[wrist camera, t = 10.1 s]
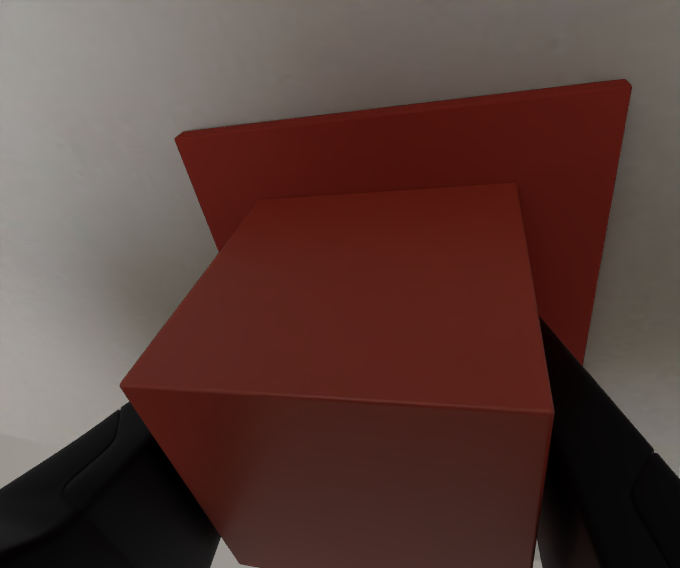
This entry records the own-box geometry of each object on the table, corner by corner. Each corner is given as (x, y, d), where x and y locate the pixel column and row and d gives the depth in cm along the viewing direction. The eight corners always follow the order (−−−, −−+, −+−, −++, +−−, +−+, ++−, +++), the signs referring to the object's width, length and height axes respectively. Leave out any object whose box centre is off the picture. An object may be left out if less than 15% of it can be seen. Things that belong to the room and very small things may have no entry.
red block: (507, 374, 11) (526, 616, 7) (310, 366, 12) (239, 565, 9) (516, 181, 8) (555, 414, 4) (258, 198, 10) (116, 385, 6)
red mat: (571, 407, 12) (573, 421, 12) (281, 390, 14) (276, 401, 14) (626, 77, 7) (633, 85, 7) (182, 130, 9) (172, 138, 9)
